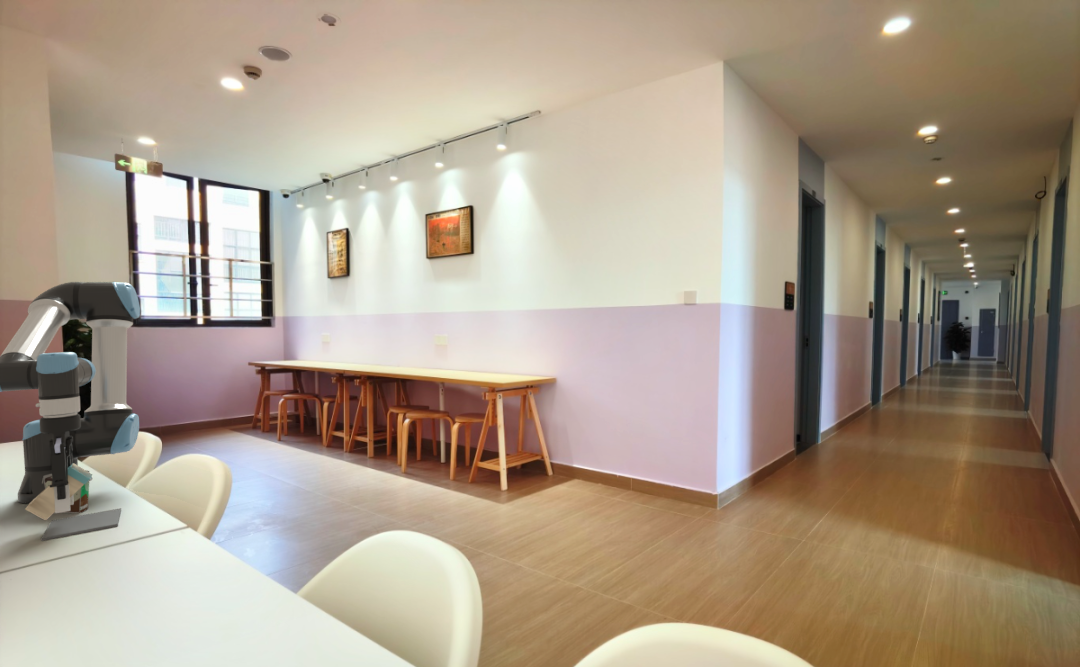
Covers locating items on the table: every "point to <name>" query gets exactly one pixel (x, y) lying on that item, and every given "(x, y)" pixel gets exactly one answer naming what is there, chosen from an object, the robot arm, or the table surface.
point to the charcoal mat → (82, 524)
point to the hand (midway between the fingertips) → (64, 508)
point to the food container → (74, 496)
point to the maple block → (45, 500)
